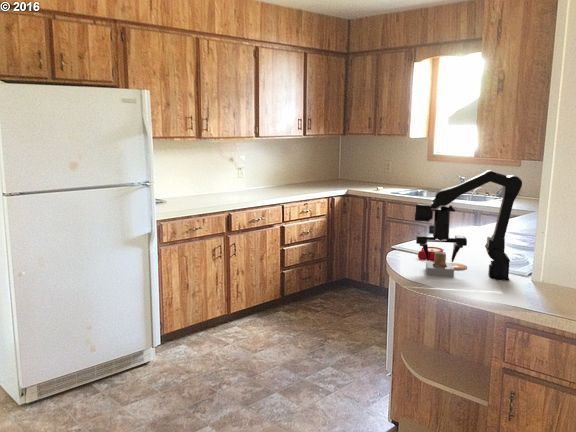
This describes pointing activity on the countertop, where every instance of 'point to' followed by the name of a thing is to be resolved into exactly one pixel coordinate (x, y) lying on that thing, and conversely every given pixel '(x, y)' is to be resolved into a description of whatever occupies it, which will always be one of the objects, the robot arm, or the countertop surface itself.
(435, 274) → the pocket holder
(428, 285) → the countertop surface
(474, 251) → the countertop surface
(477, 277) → the countertop surface
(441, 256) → the walnut block
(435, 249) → the alarm clock
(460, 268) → the terracotta plate
